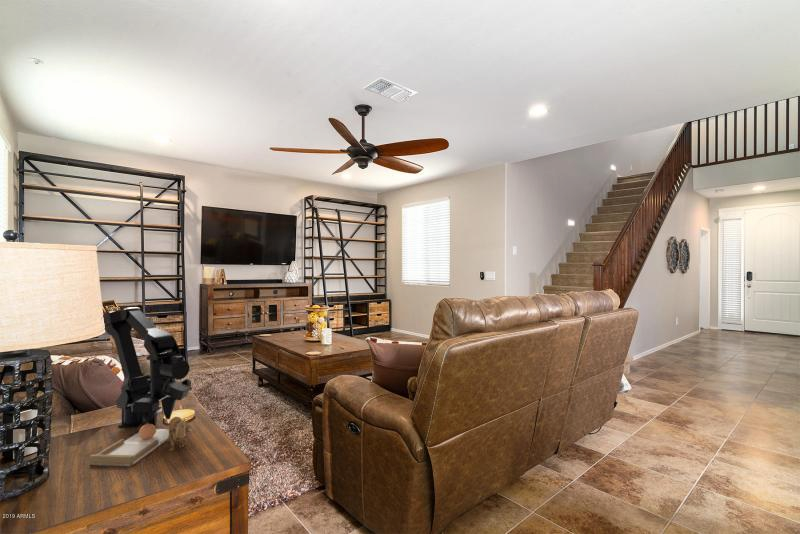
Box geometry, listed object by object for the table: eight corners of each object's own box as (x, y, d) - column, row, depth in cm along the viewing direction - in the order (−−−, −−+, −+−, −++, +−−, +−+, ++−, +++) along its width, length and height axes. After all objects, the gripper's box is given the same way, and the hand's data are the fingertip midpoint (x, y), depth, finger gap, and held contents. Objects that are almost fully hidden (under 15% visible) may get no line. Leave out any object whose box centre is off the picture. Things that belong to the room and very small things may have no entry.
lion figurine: (193, 451, 115) (194, 420, 114) (172, 456, 111) (174, 425, 111) (178, 431, 126) (179, 403, 125) (159, 436, 122) (160, 407, 121)
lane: (89, 464, 106) (89, 455, 106) (144, 430, 128) (144, 422, 128) (130, 466, 105) (130, 457, 105) (178, 431, 127) (178, 423, 127)
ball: (137, 442, 119) (133, 431, 117) (146, 430, 123) (142, 420, 121) (152, 442, 119) (148, 432, 117) (160, 430, 123) (157, 420, 121)
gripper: (167, 384, 117) (168, 437, 117) (201, 366, 135) (201, 412, 136) (130, 383, 117) (130, 436, 117) (169, 366, 136) (169, 412, 136)
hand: (161, 423), depth 127 cm, fingers open, 7 cm apart
